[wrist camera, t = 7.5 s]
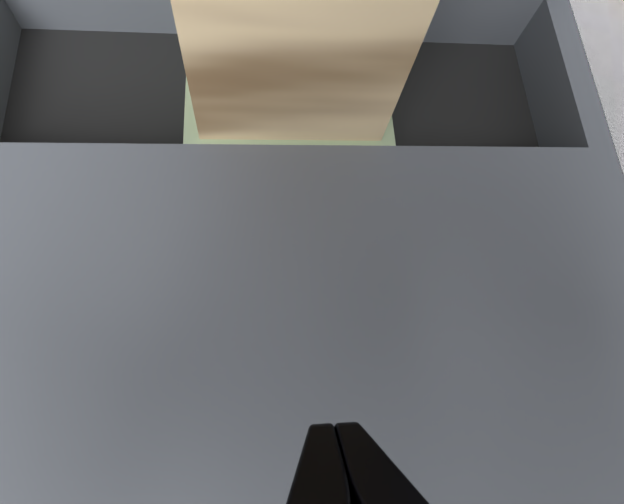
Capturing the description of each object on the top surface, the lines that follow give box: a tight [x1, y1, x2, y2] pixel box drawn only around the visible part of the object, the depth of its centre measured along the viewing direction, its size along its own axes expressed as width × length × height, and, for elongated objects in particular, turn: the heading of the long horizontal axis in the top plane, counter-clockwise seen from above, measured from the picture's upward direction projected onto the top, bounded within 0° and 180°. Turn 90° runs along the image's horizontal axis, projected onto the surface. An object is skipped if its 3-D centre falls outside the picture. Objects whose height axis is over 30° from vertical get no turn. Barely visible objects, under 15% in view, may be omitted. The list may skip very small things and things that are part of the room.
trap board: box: [0, 0, 624, 504], centre depth 15 cm, size 23×23×4 cm
